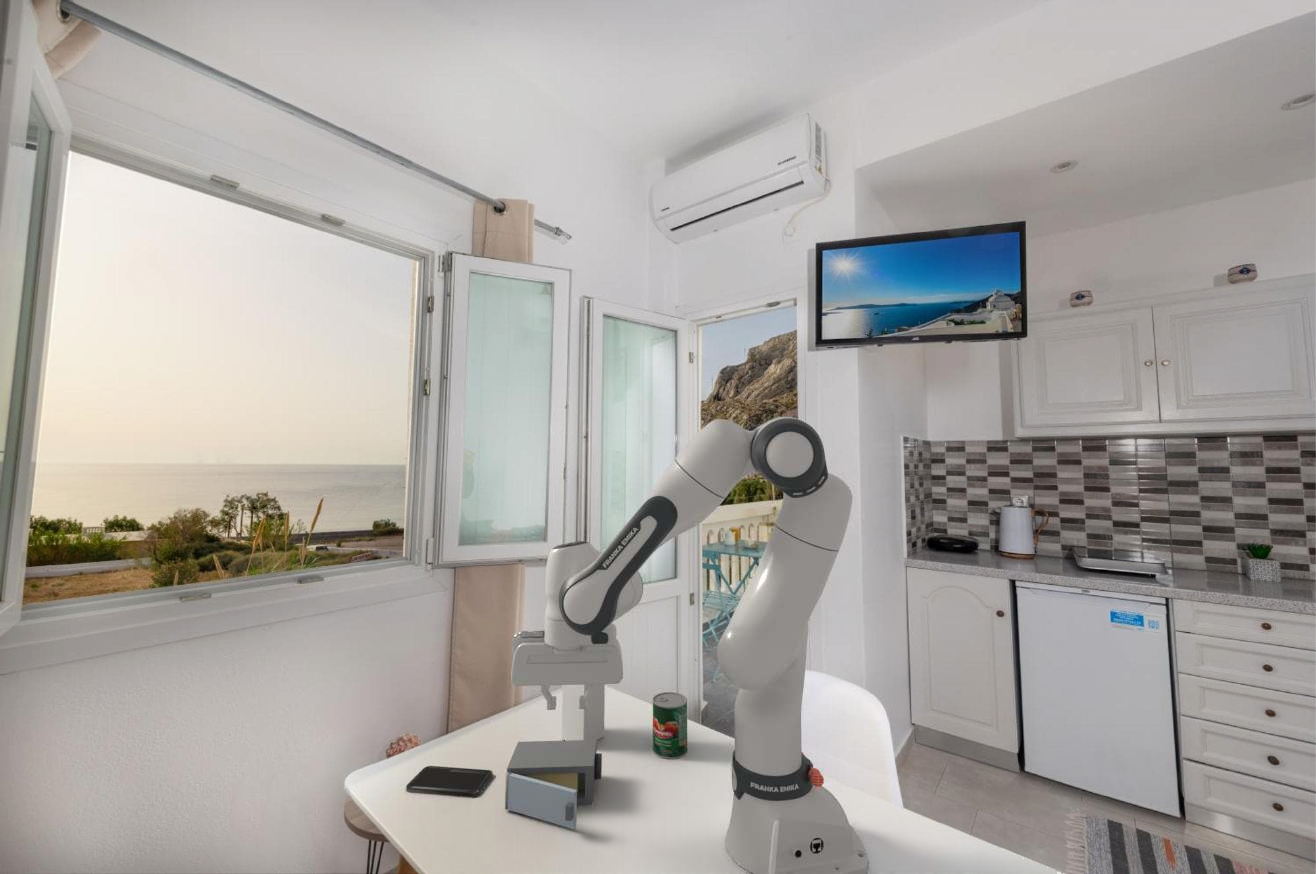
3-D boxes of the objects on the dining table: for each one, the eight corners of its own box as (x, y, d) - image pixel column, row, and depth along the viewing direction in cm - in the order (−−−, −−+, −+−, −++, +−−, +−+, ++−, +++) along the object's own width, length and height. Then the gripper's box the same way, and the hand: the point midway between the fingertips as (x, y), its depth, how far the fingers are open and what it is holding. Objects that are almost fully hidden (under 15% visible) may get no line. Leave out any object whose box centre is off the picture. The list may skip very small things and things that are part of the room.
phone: (476, 793, 98) (403, 787, 99) (476, 800, 97) (403, 793, 99) (494, 770, 105) (426, 764, 107) (494, 775, 105) (426, 770, 107)
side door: (576, 825, 89) (577, 789, 89) (570, 832, 87) (571, 796, 88) (507, 805, 94) (508, 771, 95) (500, 811, 93) (501, 777, 93)
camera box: (601, 774, 105) (602, 739, 106) (599, 804, 95) (599, 765, 96) (517, 777, 104) (518, 741, 105) (506, 808, 94) (507, 768, 95)
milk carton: (561, 740, 119) (562, 656, 120) (582, 728, 125) (583, 648, 126) (583, 749, 115) (584, 662, 116) (604, 736, 120) (605, 653, 122)
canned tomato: (688, 741, 118) (688, 692, 119) (687, 760, 111) (687, 707, 111) (654, 740, 119) (654, 691, 120) (650, 758, 111) (650, 706, 112)
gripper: (507, 636, 90) (505, 717, 89) (623, 634, 92) (622, 714, 91) (515, 626, 97) (513, 701, 96) (623, 624, 98) (622, 699, 97)
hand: (567, 708), depth 93 cm, fingers open, 4 cm apart
